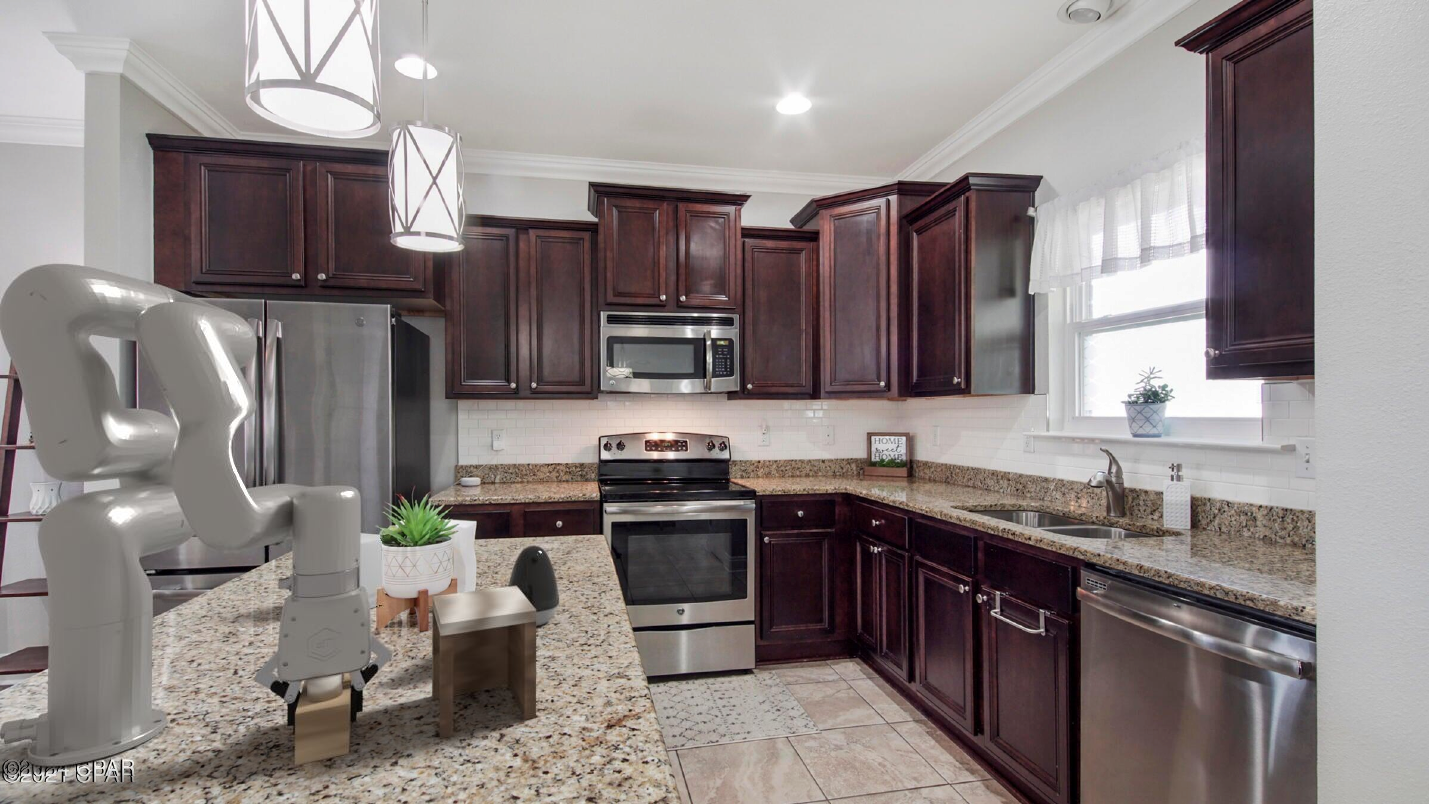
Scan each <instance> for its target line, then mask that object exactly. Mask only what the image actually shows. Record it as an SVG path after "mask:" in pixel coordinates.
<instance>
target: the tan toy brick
mask: <svg viewBox="0 0 1429 804" xmlns="http://www.w3.org/2000/svg"><path fill="white" fill-rule="evenodd" d="M351 686H352V680H351V678H350V675H349V673H345V674H343V673H340V674H335V675H329V676H323V677H317V678H311V679H307V680H304V681H303V684H302V688H301V690H300V693H301V695H300V698H299V702H298V706H297V709H296V713H295V735H294V766H299V765H303V764H307V763H312V762H317V761H321V760H325V759H330V758H334V757H338V756H342V755H343V756H344V755H348V754H349V753H350V745H351V744H350V742H351V734H352V733H351V731H352V722H350V708H351Z"/></svg>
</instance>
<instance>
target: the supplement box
mask: <svg viewBox="0 0 1429 804" xmlns="http://www.w3.org/2000/svg"><path fill="white" fill-rule="evenodd" d="M380 535H381V534H375V533H365V532H363V533H362V532H361V549H360V586H363V587H365V588H366V591H367V595H368V600H369V606H370V610H371V609H373V608H376V598H377V589H378V588H379V586H380V585H382V563H381V545H382V541H381V539H380Z"/></svg>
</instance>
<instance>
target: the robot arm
mask: <svg viewBox="0 0 1429 804" xmlns="http://www.w3.org/2000/svg"><path fill="white" fill-rule="evenodd" d="M0 334H1V338H2V341H3V343H4V346H5V348H6V351H7V353H8V355H9V357H10V360H11V362H12V364H13V366H14V369H15V371H16V374H17V377H18V380H19V383H20V388H21V392H22V400H23V402H24V403H23V404H24V407H25V412H26V416H27V420H28V423H29V424H28V425H29V428H30V432H31V436H32V442H33V445H34V448H35V453H36V455H37V459H38V462H39V464H40V466H41V468H42V470H43V471H44V472H45V474H46V475H48V476H49V477H51V478H53V479H54V480H56V481H57V480H58V481H59V482H67V483H86V482H87V483H89V482H98V481H99V482H100V481H106V480H107V481H108V480H118V481H119V484H120V487H116V488H111V489H101V490H94V491H89V492H84V493H80V494H77V495H75V496H71V497H69V498H66V499H64V500H62V501H61V502H58V503H57V504H56V505H54V506H53V507H52V508H51V509H50V510H49V511H47V512H46V514H45V515H44V517H43V518H42V520H41V522H40V524H39V527H38V531H37V542H38V544H37V545H38V548H39V553H40V556H41V561H42V563H43V567H44V570H45V571H44V572H45V576H46V581H47V582H46V583H47V593H48V595H47V596H48V597H47V598H48V659H47V661H48V663H47V669H48V671H47V673H48V674H47V679H48V680H47V712H45V713H44V712H43V713H41V714H39V715H38V717H33V718H27V719H26V718H23V719H22V718H20V719H15V720H9V721H4V722H3V723H2V725H1V726H0V739H1V740H3V743H4V744H6V745H7V744H12V743H18V742H21V741H26V740H31V741H33V743H31V745H30V746H29V747H28V750H27V760H28V762H29V763H31V764H32V765H35V766H40V767H62V766H63V767H64V766H70V765H76V764H81V763H87V762H91V761H95V760H99V759H102V758H105V757H111V756H113V755H116V754H119V753H121V752H125V751H126V750H131V749H132V748H135V747H136V746H139V745H141V744H143V743H146V742H148V741H149V740H151V739H153V738H154V737H156V735H158V734H159V733H160V732H162V731H163V729H164V728H165V727H166V726H167V723H168V721H167V720H168V719H167V717H168V716H167V713H166V712H165V711H163V710H160V709H155V708H152V707H153V706H152V702H153V701H152V696H153V695H152V694H153V693H152V692H153V637H154V636H153V633H154V632H153V627H154V626H153V623H154V621H153V619H154V607H153V606H154V605H153V603H154V600H153V599H154V596H153V589H152V585H151V582H150V579H149V577H148V575H147V574H146V572H145V570H144V569H143V567H142V565H141V562H140V560H139V559H140V558H141V557H142V558H143V557H146V556H149V555H152V554H154V555H155V554H158V553H160V552H161V553H162V552H166V551H168V550H171V549H174V548H177V547H180V546H181V545H183V544H184V543H187V542H189V540H191V538H193V536H194V535H195V537H197V539H198V540H199V541H200V542H201V543H202V544H203V545H204V546H205V547H207V548H209V549H210V550H211V551H214V552H216V553H219V554H223V555H236V554H237V555H238V554H242V553H245V552H248V551H249V552H250V551H253V550H256V549H259V548H262V547H264V546H268V545H273V544H277V543H280V542H281V543H282V542H284V541H287V540H290V539H292V559H291V560H292V562H291V563H292V565H291V566H292V569H291V570H292V571H291V572H292V573H290V574H289V576H285V577H281V578H280V577H279V578H278V582H277V583H278V584H277V586H278V587H277V588H278V590H286V591H287V590H288V592H290V593H291V594H290V595H288V596H287V597H286V598H285V599H284V602H283V605H282V610H281V614H280V620H279V621H280V624H279V631H278V645H277V651H276V652H274V654H273V655H272V656H271V657H270V658H269V659H268V661H266V663H265V664H264V665H263V666H262V667H261V668H260V669H259V670H258V671H257V673H256V674H255V675H254V681H255V682H256V683H257V684H259V685H262V686H263V687H265V688H267V689H269V690H270V691H271V692H272V693H274V694H275V695H276V696H278V697H280V699H282V700H283V701H284V703H285V704H287V705H286V706H287V708H286V709H287V710H286V711H287V713H286V722H287V723H286V726H287V727H292V736H293V735H294V736H295V713H296V709H297V706H298V702H299V698H300V695H301V690H300V687H301V686H302V683H303V682H304V680H307V679H311V678H317V677H323V676H329V675H335V674H340V673H343V674H345V673H349V675H350V678H351V680H352V686H351V708H350V722H351V724H355V723H357V716H358V715H357V714H358V713H362V712H363V711H364V710H363V709H364V708H363V707H364V703H363V702H364V689H365V687H366V685H368V683H369V682H370V681H371V680H372V679H373V678H374V677H375V676H376V675H377V673H378V672H379V671H380V670H381V669H382V668H383V667H384V666H385V665H386V664H387V663H388V662H390V661H391V659H392V658H393V652H392V651H391V649H389V648H388V647H387V646H386V645H385V644H384V643H382V642H381V641H380V640H379V639H377V638H376V637H375V636H374V635H373V634H372V621H371V619H372V618H371V616H372V615H371V609H370V606H369V600H368V595H367V591H366V588H365V587H363V586H360V549H361V533H362V532H361V531H362V530H361V528H362V527H361V525H362V524H361V522H362V518H361V517H362V514H361V513H362V512H361V511H362V498H361V493H360V491H358V489H357V488H356V487H353V486H351V485H350V486H349V485H322V486H321V485H319V486H307V485H299V484H293V483H292V484H291V483H277V484H276V483H275V484H274V483H273V484H269V485H268V484H267V485H264V486H263V485H262V486H255V487H249V488H248V487H246V485H245V484H244V482H243V479H242V478H241V476H240V473H239V472H238V469H237V466H236V465H235V464H236V463H235V461H234V458H233V457H234V456H233V439H234V436H235V434H236V431H237V430H238V428H239V427H240V426H241V424H243V423H244V422H246V421H247V420H248V419H250V418H251V417H253V415H254V414H255V412H256V411H257V401H256V399H255V397H254V394H253V393H252V391H251V389H250V387H249V384H248V383H247V381H246V379H245V376H244V374H243V372H242V371H241V369H242V368H244V367H246V366H247V365H249V364H250V363H251V361H252V360H253V358H254V357H255V355H256V352H257V347H258V342H257V341H258V340H257V336H256V333H255V331H254V329H253V328H252V327H251V325H250V324H249V323H248V322H247V321H246V320H245V319H244V318H242V317H241V316H240V315H238V314H236V313H234V312H232V311H229V310H226V309H223V308H221V307H219V306H216V305H213V304H210V303H208V302H205V301H203V300H201V299H198V298H196V297H193V296H190V295H187V294H185V293H183V292H180V291H178V290H175V289H173V288H171V287H167V286H164V285H162V284H158V283H155V282H150V281H147V280H143V279H139V278H135V277H130V276H126V275H123V274H119V273H117V272H116V273H115V272H111V271H108V270H103V269H100V268H95V267H90V266H87V265H85V266H84V265H79V264H71V263H70V264H69V263H50V264H49V263H48V264H41V265H38V266H34V267H31V268H29V269H27V270H25V271H23V272H22V273H21V274H19V275H18V276H17V277H16V278H15V279H14V280H12V282H11V283H10V284H9V286H8V287H7V288H6V290H5V291H4V293H3V296H2V297H1V301H0ZM90 336H99V337H105V338H106V337H107V338H111V339H112V338H113V339H119V340H128V341H133V342H134V341H135V342H137V344H138V346H139V349H140V352H141V353H142V355H143V357H144V360H145V361H146V364H147V365H148V368H149V370H150V372H151V373H152V376H153V378H154V380H155V381H156V384H157V386H158V387H159V389H160V392H161V393H162V396H163V397H164V399H165V402H166V404H167V406H168V409H169V410H170V412H171V414H172V416H173V418H174V420H172V418H170V417H169V416H167V415H166V414H165V413H161V412H160V411H157V410H153V409H151V410H150V409H147V408H131V407H130V408H126V407H124V405H123V403H122V401H121V399H120V398H121V397H120V394H119V391H118V389H117V388H118V387H117V384H116V378H115V375H114V373H113V370H112V368H111V366H110V365H109V363H108V362H107V361H106V359H105V358H104V356H103V355H102V354H101V353H100V351H99V350H97V349H96V348H95V346H94V345H93V344H92V343H91V342H90V339H89V338H90ZM372 653H373V654H374V655H376V658H374V659H373V661H371V659H372ZM275 670H276V671H277V675H276V674H274V671H275Z"/></svg>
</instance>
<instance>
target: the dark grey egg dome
mask: <svg viewBox="0 0 1429 804" xmlns="http://www.w3.org/2000/svg"><path fill="white" fill-rule="evenodd" d="M551 560H552V559H550V556H549V554H548V553H547V552H546V550H545V549H544V548H543V547H541V546H538V545H529V546H527V547H526V546H525V548H524V549H522V550H521V551H520V552H519V554H518V555H517V557H516V559H515V561H514V564H513V567H512V569H511V570H512V571H511V573H510V577H509V581H508V584H507V587H511V586H517V587H518V588H519V589H520V591H521V592H522V593H523V594H524V596H525V597H526V598H527V599H528V600H529V602H530V603H531V604H532V605H533V607H534V608H535V609H536V627H539V626H543V625H545V624H546V623H548V622H550V620H552V619H553V617H554V616H555V614H556V612H557V609H558V605H559V604H560V593H559V587H558V581H557V578H556V573H555V570H554V567H553V564H552V561H551Z"/></svg>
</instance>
